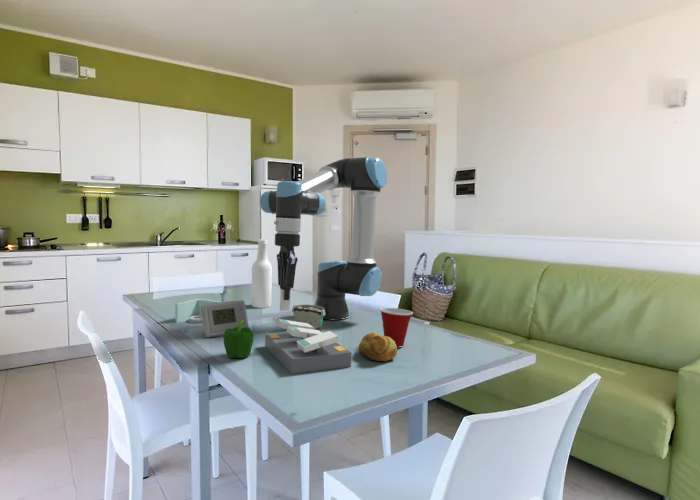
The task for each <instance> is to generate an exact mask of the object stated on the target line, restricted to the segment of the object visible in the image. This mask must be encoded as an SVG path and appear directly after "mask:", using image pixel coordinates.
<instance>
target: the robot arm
mask: <svg viewBox="0 0 700 500" xmlns="http://www.w3.org/2000/svg"><path fill="white" fill-rule="evenodd" d="M387 173H388V172H387V169H386V166H385V163H384V162H383V161H382V159H380V158H379V157H373V156H367V157H351V158H350V157H349V158H347V157H346V158H342V159H339V160H336V161H333V162H330V163H329V164H326V165H323V166H322V167H321V168H320V169H319V170H318V172H317V171H316V173H313V174H310V175H309V176H306V177H305V178H302V179H300V180H298V181H291V180H280V181H279V182H277V185H276V190H268V191H267V190H266V191H264V192H263V193H262V194H261V196H260V198H259V205H260V209H261V210H262V211H263V212H264V213H266V214H272V215H275V221H274V222H273V224H274V225H275V229H274V230H275V231H276V232H277V233H275V234H274V246H277V247H279V252H278V253H277V254H276V262H277V284H278V286H279V288H280V290H279V291H280V293H279V294H280V296H279V297H280V298H279V311H281V312H284V311H285V312H286V311H291V310H290V309H291V290H292V289H294V284H295V275H296V269H297V263H298V257H297V256H296V252H295V247H299V246H300V244H301V235H300V232H301V223H302V221H301V220H302V218H301V217H302V216H301V215H306V216H318V215H321V214H322V213H323V212H324V211H325V209H326V202H327V201H326V199H325V196H324V195H323V194H321V193H323V192H325V191H332V190H334V189H339V188H340V189H341V188H349V189H350V193H351V194H352V195H353V215H352V237H351V256H350V258H348V259H347V260H331V261H322V262H319V264H318V268H317V282H316V283H317V285H316V287H317V288H316V290H317V291H316V292H317V293H316V299H315V302H314V305H317V306H321V307H323V308H324V310H325V316H323V319H342V318H346V317H348V316H350V315H349V314H350V312H349V307H348V303H347V301H346V294H347V295H354V296H355V295H356V296H360V297H371V296H372V297H373V296H374V295H375V294H376V293H377V292H378V290H379V288H380V287H381V283H382V278H383V277H382V271H381V269H380V267H378V266H377V261H376V260H375V259H374V248H375V247H374V243H375V242H374V241H375V223H376V221H375V220H376V207H377V206H376V205H377V197H378V196H379V195H380V194H381V189H382V188H384V187H385V186H386V185H387V180H388V175H387ZM348 318H349V317H348ZM346 319H347V318H346ZM342 320H343V319H342Z"/></svg>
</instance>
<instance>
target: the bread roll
mask: <svg viewBox="0 0 700 500" xmlns="http://www.w3.org/2000/svg"><path fill="white" fill-rule="evenodd" d="M358 350H359V352H360V353H361V354H362V355H363V356H365V357H366V358H367V359H369V360H371V361H374V362H377V361H384V362H388V360H389V361H391V359H392V360H393V359H394V358H395V357H396V356H397V354H398V348H397V346H396V344H395V341H393V340H392V339H391V338H390V337H387V336H384V335H381V334H380V333H377V332H369V333H367V334H365V335H364V336H363V337H362V339H361V341H360V343H359V344H358Z"/></svg>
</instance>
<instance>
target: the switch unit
mask: <svg viewBox="0 0 700 500" xmlns="http://www.w3.org/2000/svg"><path fill="white" fill-rule="evenodd" d="M315 330H316V329H315ZM264 335H265V336H264V347H265V348H266V349H267V350H268V351H269V352H270V353H271V354H272V355H273V356H274V357H275V358H276V359H277V360H278V362H280V363H281V365H282V366H283V367H284V368H286V370H287V371H288V372H289V373H290V374H291V375H298V374H304V373H305V374H306V373H314V372H321V371H329V370H336V369H343V368H351V367H352V351H350V350H348V349H347V348H345V347H344V346H342V345H341V344H340V343H338V342H336V343H333V344H330V345H327V346H324V347H321V348H317V349H314V350H311V351H308V352H304V351H302V350H301V349H300V348H299V347H298V346H297V341H299V340H302V339H305V338H303V337H295V336H292V335H291V334H289V333H288V332H287V331H283V332H282V331H281V332H269V333H268V332H267V333H264Z"/></svg>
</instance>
